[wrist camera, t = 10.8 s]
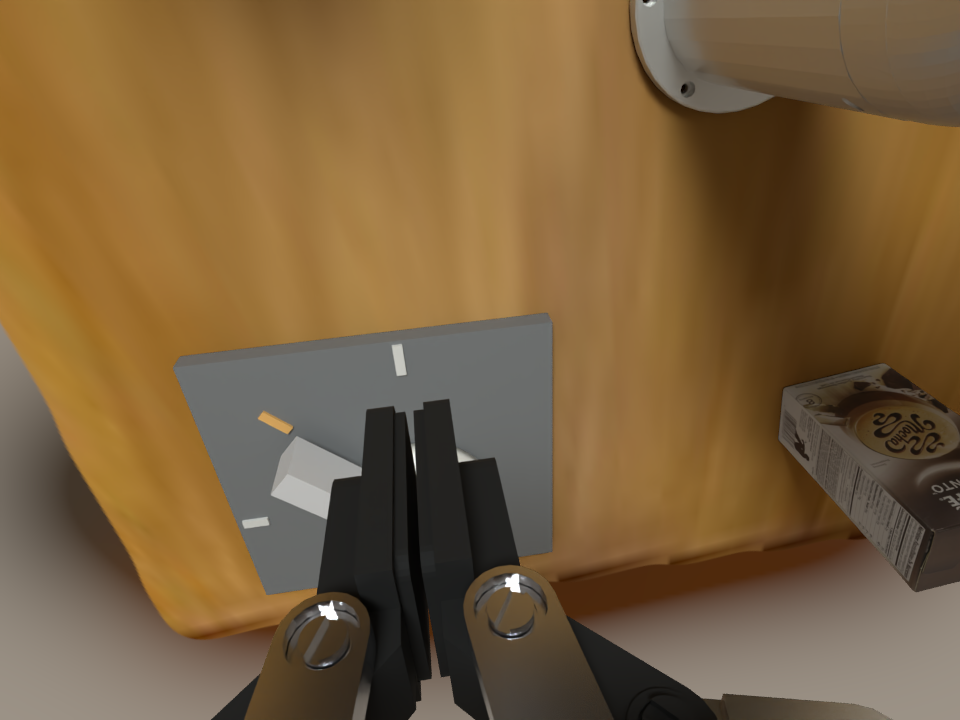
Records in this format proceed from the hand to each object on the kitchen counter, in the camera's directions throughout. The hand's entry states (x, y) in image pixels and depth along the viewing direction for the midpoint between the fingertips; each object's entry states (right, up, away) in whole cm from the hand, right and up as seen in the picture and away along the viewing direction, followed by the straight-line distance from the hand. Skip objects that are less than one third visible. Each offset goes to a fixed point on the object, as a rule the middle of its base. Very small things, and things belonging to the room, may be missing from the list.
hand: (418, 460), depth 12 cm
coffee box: (+32, -1, +38) cm, 49 cm away
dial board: (-6, -6, +35) cm, 36 cm away
